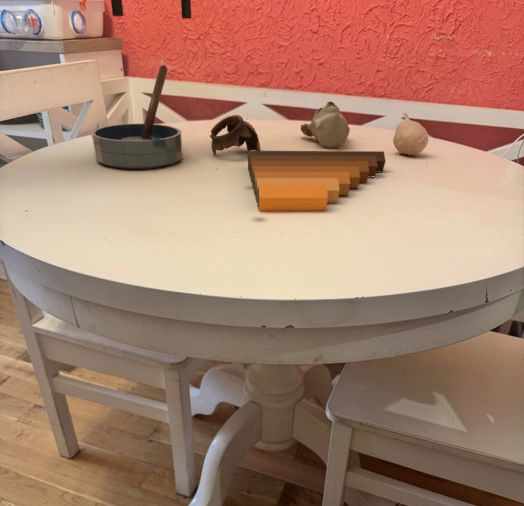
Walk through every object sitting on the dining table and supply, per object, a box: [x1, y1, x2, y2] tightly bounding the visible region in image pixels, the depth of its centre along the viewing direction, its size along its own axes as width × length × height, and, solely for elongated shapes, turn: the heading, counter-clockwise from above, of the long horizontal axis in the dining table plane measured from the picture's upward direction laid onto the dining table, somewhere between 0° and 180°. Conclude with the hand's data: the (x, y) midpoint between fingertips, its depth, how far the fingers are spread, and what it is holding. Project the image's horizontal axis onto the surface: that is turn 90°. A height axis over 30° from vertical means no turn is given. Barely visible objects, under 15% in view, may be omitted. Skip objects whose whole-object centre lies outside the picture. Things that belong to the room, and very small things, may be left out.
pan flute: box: [247, 150, 386, 212], centre depth 83 cm, size 25×3×25 cm
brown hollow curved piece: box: [209, 114, 262, 156], centre depth 100 cm, size 12×10×8 cm
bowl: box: [91, 123, 184, 170], centre depth 94 cm, size 16×16×5 cm
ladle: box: [121, 64, 168, 141], centre depth 96 cm, size 18×6×14 cm, turn 165°
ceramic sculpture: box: [300, 101, 351, 149], centre depth 110 cm, size 11×9×15 cm
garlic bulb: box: [392, 111, 429, 156], centre depth 103 cm, size 7×6×8 cm
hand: (152, 17), depth 92 cm, fingers open, 13 cm apart
